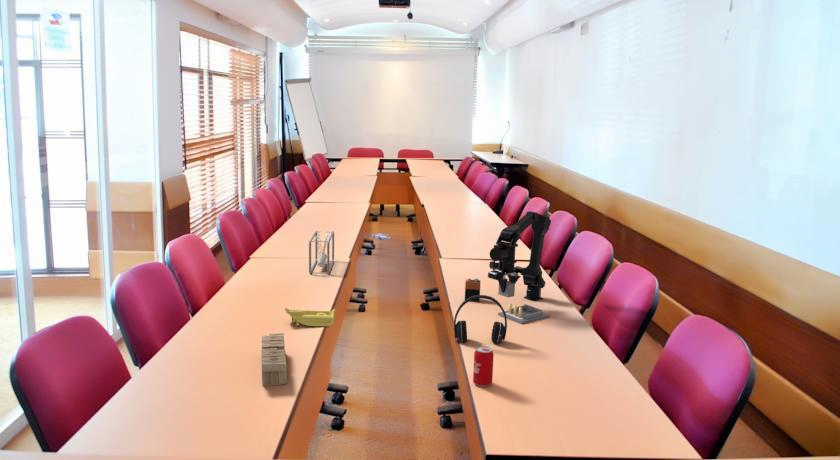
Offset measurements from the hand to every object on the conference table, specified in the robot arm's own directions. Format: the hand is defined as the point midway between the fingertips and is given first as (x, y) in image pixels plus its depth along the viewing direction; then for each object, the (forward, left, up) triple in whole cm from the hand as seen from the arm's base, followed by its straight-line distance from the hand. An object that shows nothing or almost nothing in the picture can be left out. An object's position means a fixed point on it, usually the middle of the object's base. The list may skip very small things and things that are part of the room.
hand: (506, 291), depth 294 cm
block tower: (+114, +6, -8) cm, 114 cm away
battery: (+4, -18, -8) cm, 20 cm away
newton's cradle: (+34, -106, -8) cm, 112 cm away
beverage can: (+63, +54, -8) cm, 84 cm away
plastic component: (+81, -30, -8) cm, 87 cm away
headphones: (+38, +25, -8) cm, 46 cm away
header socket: (0, +12, -8) cm, 14 cm away
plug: (0, 0, -2) cm, 2 cm away
